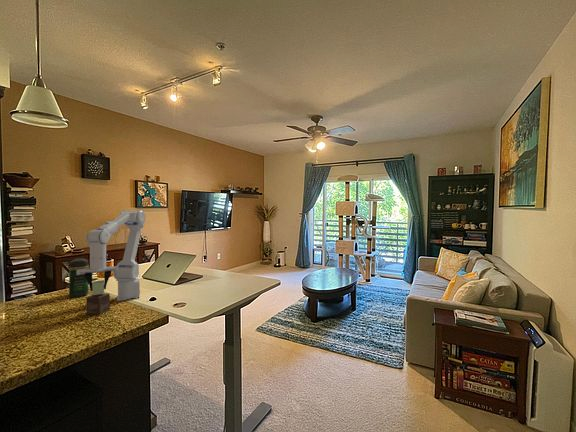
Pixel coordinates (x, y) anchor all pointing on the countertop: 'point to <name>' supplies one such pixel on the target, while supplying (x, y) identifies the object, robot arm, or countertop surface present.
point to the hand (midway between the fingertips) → (98, 289)
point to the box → (98, 303)
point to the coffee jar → (78, 278)
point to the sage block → (98, 287)
